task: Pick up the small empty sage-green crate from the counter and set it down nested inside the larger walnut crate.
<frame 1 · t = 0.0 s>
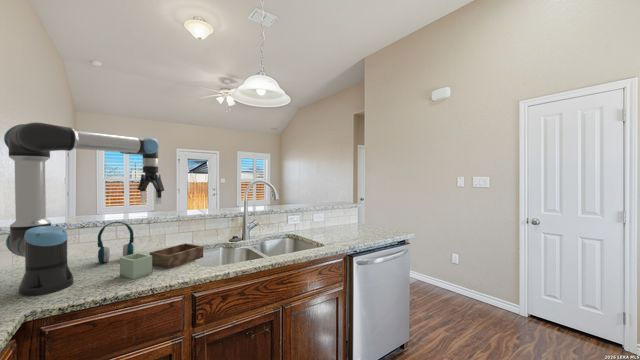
hand: (150, 203, 156), 28 cm above the counter, fingers open, 13 cm apart
headphones: (116, 261, 140), on the counter
small crate: (136, 274, 121), on the counter
big crate: (177, 260, 140), on the counter
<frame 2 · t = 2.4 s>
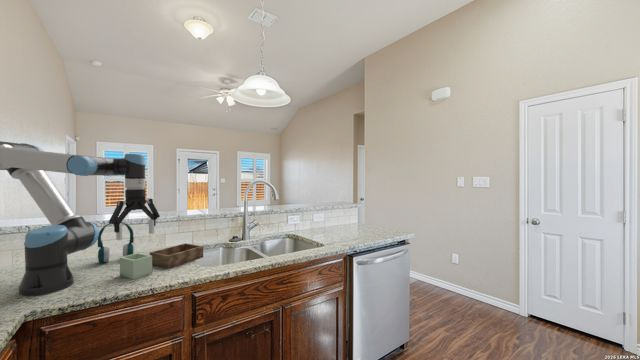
hand: (136, 236, 121), 17 cm above the counter, fingers open, 13 cm apart
nothing on the counter moved.
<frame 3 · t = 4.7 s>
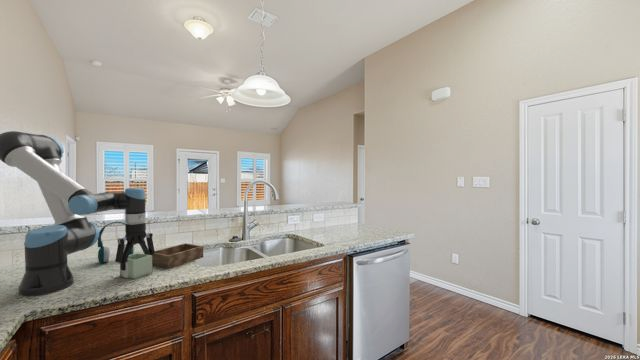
hand: (136, 273, 121), 0 cm above the counter, fingers closed on small crate, 8 cm apart
small crate: (136, 274, 121), on the counter, touching gripper
everything else where it was.
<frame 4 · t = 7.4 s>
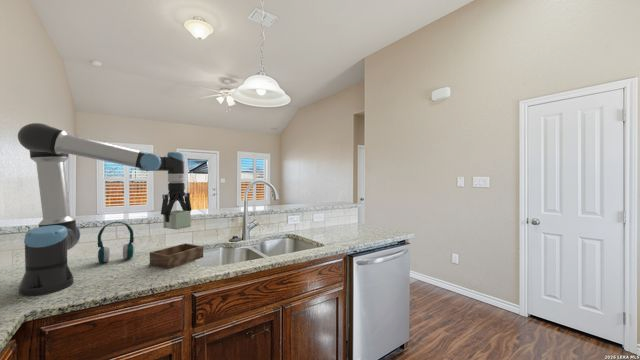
hand: (177, 226, 140), 18 cm above the counter, fingers closed on small crate, 8 cm apart
small crate: (177, 227, 140), point 17 cm above the counter, touching gripper
everything else where it was.
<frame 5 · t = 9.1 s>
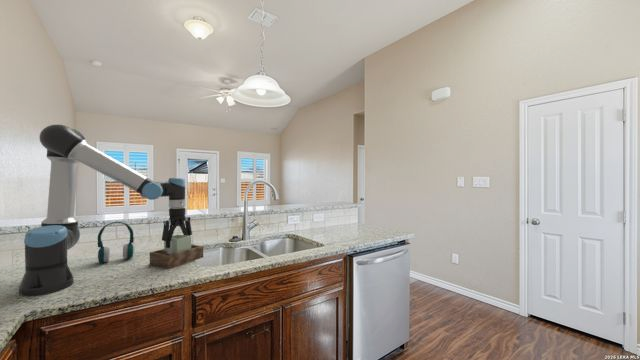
hand: (177, 251, 140), 5 cm above the counter, fingers closed on small crate, 8 cm apart
small crate: (177, 252, 140), point 4 cm above the counter, touching gripper
everything else where it was.
when the fingers open (2 cm above the counter, at t = 10.4 s): small crate stays where it is, resting on big crate.
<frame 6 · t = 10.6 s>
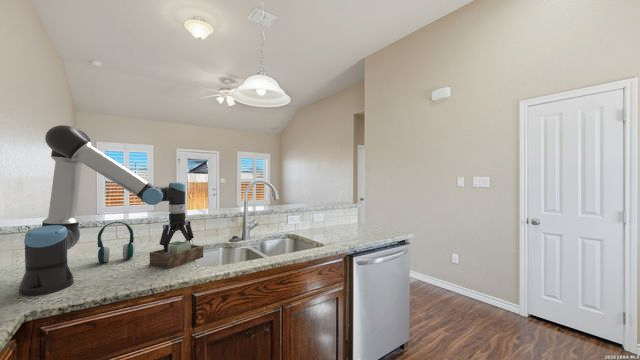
hand: (177, 255, 140), 3 cm above the counter, fingers open, 10 cm apart
small crate: (177, 258, 140), point 1 cm above the counter, touching big crate
everything else where it was.
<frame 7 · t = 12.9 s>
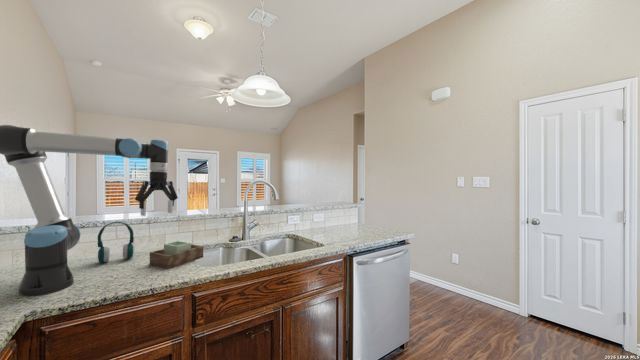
hand: (157, 214, 135), 25 cm above the counter, fingers open, 13 cm apart
nothing on the counter moved.
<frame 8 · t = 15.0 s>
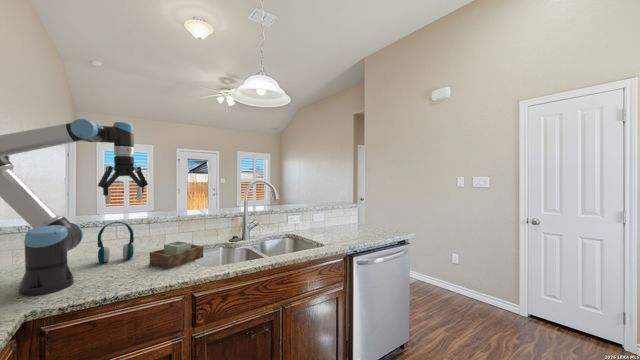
hand: (124, 201, 128), 32 cm above the counter, fingers open, 13 cm apart
nothing on the counter moved.
at the end: small crate inside the target area on the big crate (0.1 cm from its centre), point 1.0 cm above the big crate's base; small crate tilted 0°; the gripper is holding nothing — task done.
